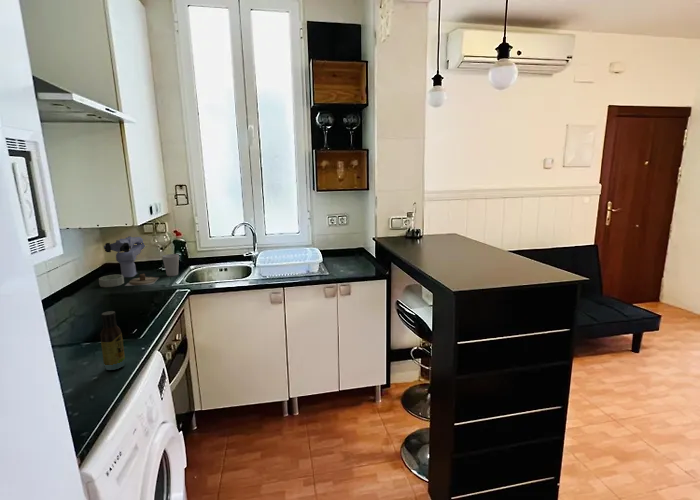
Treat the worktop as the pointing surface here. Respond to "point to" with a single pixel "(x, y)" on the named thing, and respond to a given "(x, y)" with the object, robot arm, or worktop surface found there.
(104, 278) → the bowl
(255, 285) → the worktop surface
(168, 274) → the foam cup
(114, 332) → the sauce bottle
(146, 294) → the worktop surface
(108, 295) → the worktop surface
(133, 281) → the lid
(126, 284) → the mat
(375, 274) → the worktop surface
